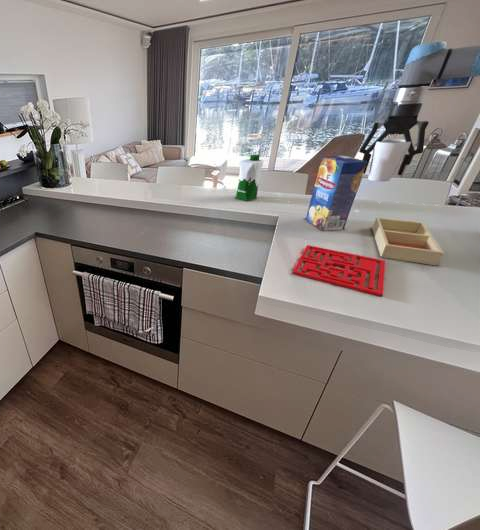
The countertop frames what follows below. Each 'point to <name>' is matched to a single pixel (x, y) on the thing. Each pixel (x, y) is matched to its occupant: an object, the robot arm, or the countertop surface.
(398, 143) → the foam cup
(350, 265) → the maze puzzle
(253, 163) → the milk carton
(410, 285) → the countertop surface
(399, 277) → the countertop surface
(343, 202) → the juice carton
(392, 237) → the divided tray
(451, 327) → the countertop surface
